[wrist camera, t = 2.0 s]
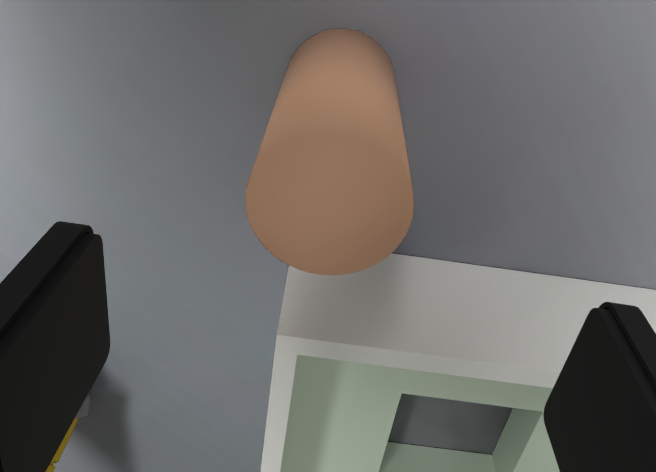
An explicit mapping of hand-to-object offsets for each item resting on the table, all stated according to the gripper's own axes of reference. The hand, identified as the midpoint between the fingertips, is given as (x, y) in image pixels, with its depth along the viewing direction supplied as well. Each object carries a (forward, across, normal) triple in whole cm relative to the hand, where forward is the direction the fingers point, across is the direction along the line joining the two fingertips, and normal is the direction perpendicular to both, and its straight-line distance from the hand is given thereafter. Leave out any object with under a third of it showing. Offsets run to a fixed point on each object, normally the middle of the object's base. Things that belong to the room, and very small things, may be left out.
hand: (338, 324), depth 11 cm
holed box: (+13, -7, +15) cm, 21 cm away
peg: (+12, +1, -1) cm, 13 cm away
